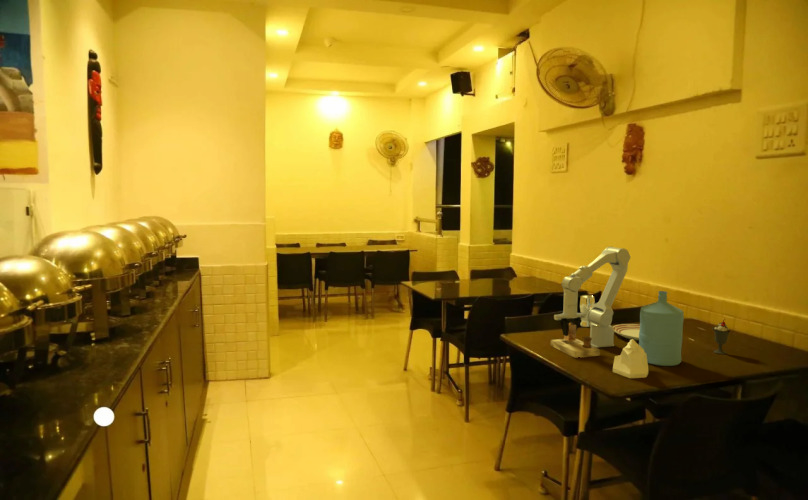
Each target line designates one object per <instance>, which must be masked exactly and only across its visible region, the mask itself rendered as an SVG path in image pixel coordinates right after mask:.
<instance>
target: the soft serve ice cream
mask: <svg viewBox="0 0 808 500" xmlns="http://www.w3.org/2000/svg"><path fill="white" fill-rule="evenodd" d="M612 373H614V374H616V375H620V376H621V377H625V378H628V379H641V378H643V379H644V378H647V377H648V375H649V363H648V362H647V355H646V353H645V352H644V349H643V348H642V347H641V346H640V345H639V343H637V341H635V340H634V339H632V340H631V339H629V342H627V345H626V346H624V347H623V348H622V350H621V353H620V355H614V359H613V365H612Z"/></svg>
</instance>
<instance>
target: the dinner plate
mask: <svg viewBox="0 0 808 500" xmlns="http://www.w3.org/2000/svg"><path fill="white" fill-rule="evenodd" d="M612 327H613V330H614V333H615V334H617V335H620V337H623V338H625V339H628V340H632V339H634V341H635V342H639V331H640V324H636V323H621V324H616V325H612Z"/></svg>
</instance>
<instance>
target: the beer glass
mask: <svg viewBox="0 0 808 500" xmlns="http://www.w3.org/2000/svg"><path fill="white" fill-rule="evenodd" d="M594 304H596V302H595V296H593V295H588V294H583V295H580V301H579V310H580V312H579V313H585V314H586V318H580V319H581V320H582V321H581V323H580V325H579V326H581V327H584V328H591V324H590V321H589V319H588V317H587V315H588V312H589V310H590V309H591V308H592V307H593V305H594Z"/></svg>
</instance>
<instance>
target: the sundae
mask: <svg viewBox="0 0 808 500" xmlns="http://www.w3.org/2000/svg"><path fill="white" fill-rule="evenodd" d="M712 331H713V333H714V341H715V343H717V345H718V349H717V350H716V349H715V350H713V353H714V354H718V355H727V354H728V352H727V351H724V350H723V345H725V344H726V343H727V341H728V337H729V333H731V331H732V330H731V329H729V328H728V325H727V323H726V318H724V320H722V321H721V322H718V324H717V325H716V326H713V327H712Z"/></svg>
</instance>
